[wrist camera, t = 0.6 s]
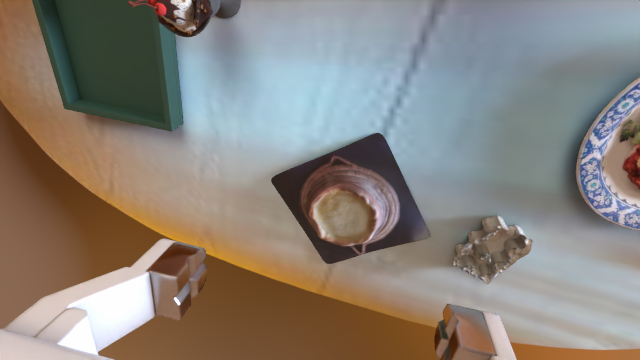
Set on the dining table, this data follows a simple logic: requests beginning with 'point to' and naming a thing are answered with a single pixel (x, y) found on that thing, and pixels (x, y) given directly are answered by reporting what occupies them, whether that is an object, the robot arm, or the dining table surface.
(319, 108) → the dining table surface
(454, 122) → the dining table surface
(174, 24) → the sundae
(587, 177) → the ceramic plate
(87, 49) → the serving tray
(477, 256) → the egg carton
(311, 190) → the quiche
